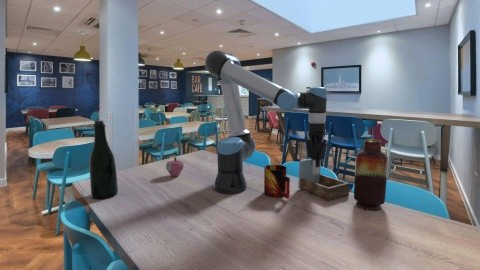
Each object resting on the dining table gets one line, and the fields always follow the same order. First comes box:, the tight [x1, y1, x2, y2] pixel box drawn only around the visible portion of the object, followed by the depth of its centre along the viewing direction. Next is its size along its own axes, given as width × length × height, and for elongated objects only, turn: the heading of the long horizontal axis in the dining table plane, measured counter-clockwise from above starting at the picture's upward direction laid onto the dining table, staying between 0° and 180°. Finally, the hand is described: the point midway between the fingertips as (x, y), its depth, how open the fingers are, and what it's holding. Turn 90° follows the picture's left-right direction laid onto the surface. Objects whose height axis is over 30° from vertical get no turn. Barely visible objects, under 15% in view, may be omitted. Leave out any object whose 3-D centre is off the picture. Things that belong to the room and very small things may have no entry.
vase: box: [353, 138, 389, 212], centre depth 103 cm, size 11×11×26 cm
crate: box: [300, 173, 350, 202], centre depth 119 cm, size 16×13×6 cm
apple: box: [165, 156, 185, 177], centre depth 145 cm, size 10×9×10 cm
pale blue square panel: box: [297, 158, 322, 189], centre depth 126 cm, size 13×13×1 cm
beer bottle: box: [88, 120, 119, 200], centre depth 116 cm, size 10×10×33 cm
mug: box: [263, 164, 291, 200], centre depth 117 cm, size 10×14×12 cm
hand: (315, 173), depth 123 cm, fingers closed
